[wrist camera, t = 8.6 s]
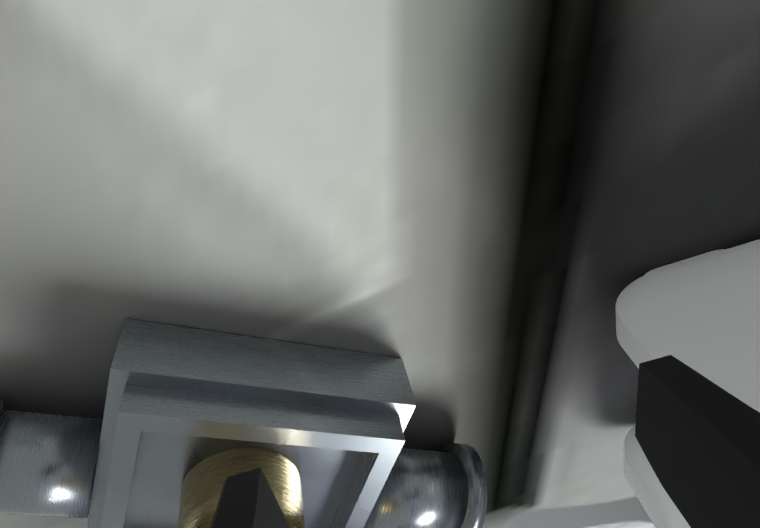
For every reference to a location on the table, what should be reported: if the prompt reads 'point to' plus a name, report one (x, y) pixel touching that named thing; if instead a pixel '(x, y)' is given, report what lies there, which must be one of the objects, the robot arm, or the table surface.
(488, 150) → the table surface
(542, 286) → the table surface
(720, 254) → the cable organizer
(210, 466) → the brass cylinder
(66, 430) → the valve body
